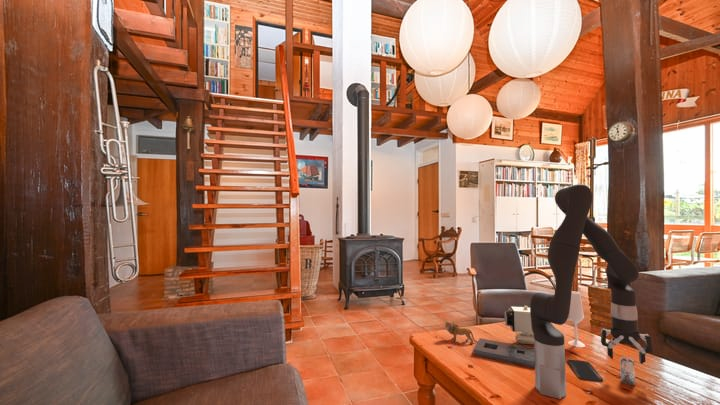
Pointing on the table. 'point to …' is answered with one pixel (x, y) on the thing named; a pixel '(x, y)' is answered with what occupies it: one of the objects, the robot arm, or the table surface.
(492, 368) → the table surface
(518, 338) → the security camera
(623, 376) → the flashlight
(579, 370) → the phone
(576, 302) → the champagne flute
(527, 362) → the grey board with holes
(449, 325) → the lion figurine
